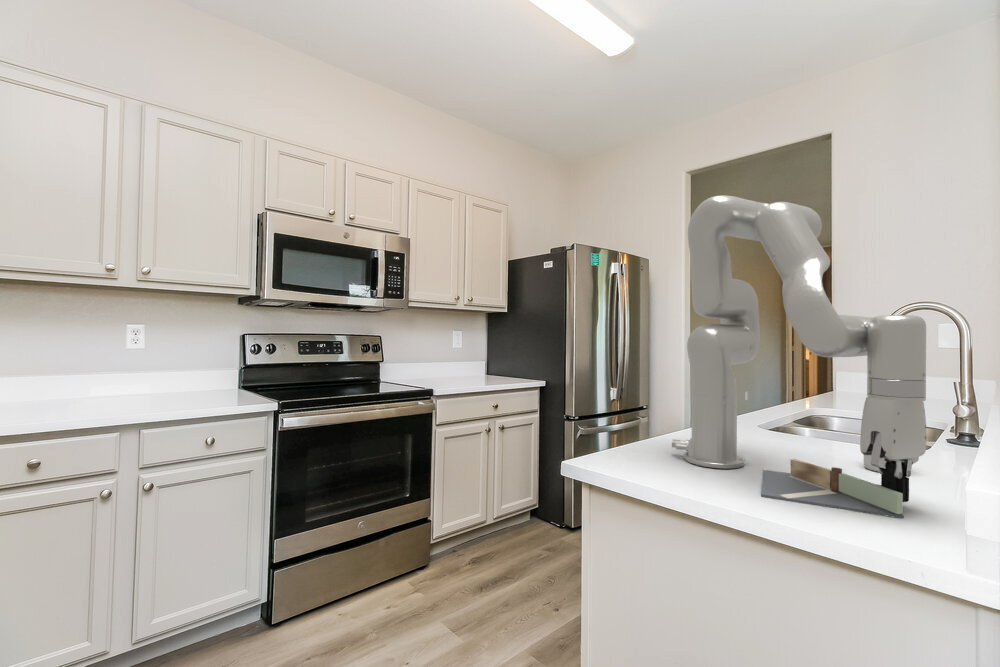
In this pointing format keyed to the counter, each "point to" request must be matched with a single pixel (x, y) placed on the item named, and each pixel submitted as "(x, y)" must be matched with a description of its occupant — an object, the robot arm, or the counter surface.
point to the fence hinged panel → (871, 493)
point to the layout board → (813, 494)
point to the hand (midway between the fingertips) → (894, 499)
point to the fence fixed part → (816, 474)
